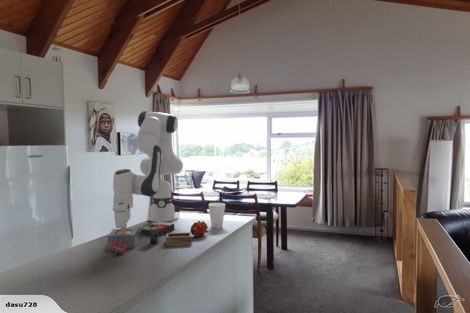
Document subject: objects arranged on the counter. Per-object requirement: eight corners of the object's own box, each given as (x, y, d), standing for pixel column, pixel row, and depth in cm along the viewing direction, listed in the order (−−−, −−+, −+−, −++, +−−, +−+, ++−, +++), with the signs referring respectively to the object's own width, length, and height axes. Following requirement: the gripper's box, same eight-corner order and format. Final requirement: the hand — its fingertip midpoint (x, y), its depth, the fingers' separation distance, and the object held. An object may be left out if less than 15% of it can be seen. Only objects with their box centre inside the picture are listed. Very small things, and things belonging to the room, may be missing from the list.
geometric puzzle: (130, 245, 155) (119, 232, 153) (130, 250, 149) (118, 236, 147) (117, 256, 154) (105, 243, 152) (117, 261, 147) (104, 248, 145)
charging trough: (166, 241, 169) (166, 233, 169) (191, 240, 171) (191, 232, 170) (165, 246, 161) (165, 237, 161) (191, 244, 163) (191, 236, 163)
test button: (118, 237, 167) (118, 231, 167) (131, 236, 168) (131, 230, 167) (116, 240, 161) (115, 234, 161) (129, 240, 162) (129, 234, 161)
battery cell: (149, 241, 168) (149, 222, 168) (158, 241, 169) (158, 221, 168) (149, 244, 164) (148, 224, 163) (157, 244, 165) (157, 223, 164)
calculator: (140, 228, 181) (158, 220, 195) (141, 236, 182) (158, 228, 195) (157, 230, 177) (174, 222, 190) (158, 238, 177) (174, 230, 191)
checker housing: (113, 241, 169) (113, 228, 169) (138, 240, 171) (138, 227, 171) (108, 248, 158) (107, 235, 157) (135, 247, 159) (134, 233, 159)
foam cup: (206, 225, 199) (206, 203, 198) (221, 224, 203) (221, 202, 202) (212, 229, 190) (212, 206, 190) (227, 227, 194) (227, 205, 194)
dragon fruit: (206, 236, 183) (194, 245, 173) (194, 225, 185) (182, 234, 175) (214, 225, 180) (202, 234, 169) (201, 214, 182) (189, 223, 171)
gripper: (120, 200, 173) (120, 227, 174) (111, 208, 153) (112, 238, 153) (133, 199, 174) (133, 226, 175) (126, 207, 154) (127, 238, 154)
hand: (123, 232), depth 164 cm, fingers closed, pressing on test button
